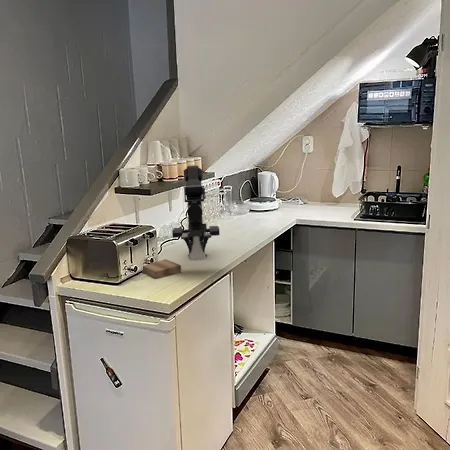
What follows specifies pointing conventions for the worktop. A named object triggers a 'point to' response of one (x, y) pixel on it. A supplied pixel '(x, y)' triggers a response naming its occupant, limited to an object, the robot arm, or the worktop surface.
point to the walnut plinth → (161, 269)
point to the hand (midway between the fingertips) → (197, 252)
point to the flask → (197, 250)
